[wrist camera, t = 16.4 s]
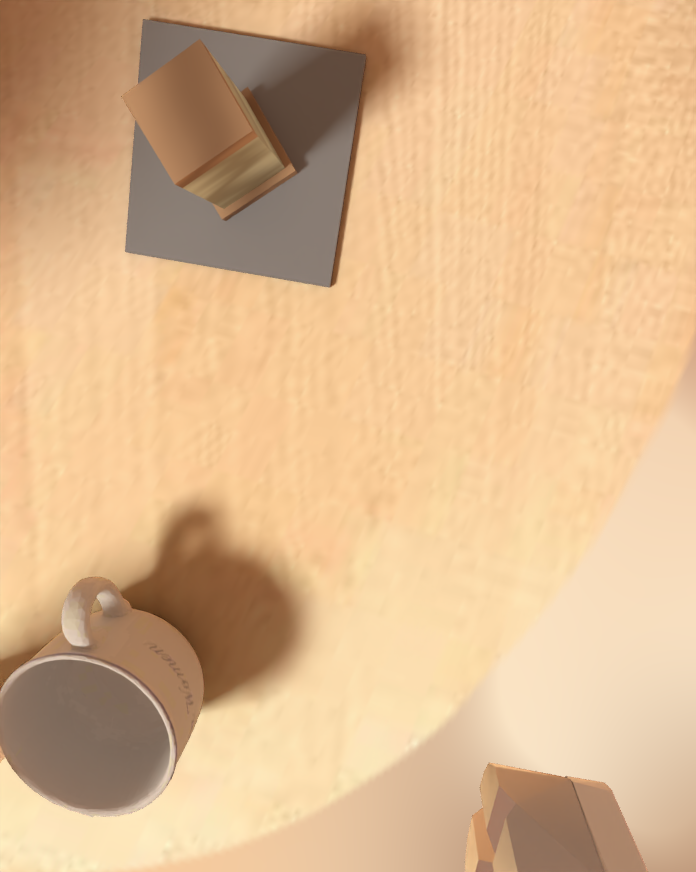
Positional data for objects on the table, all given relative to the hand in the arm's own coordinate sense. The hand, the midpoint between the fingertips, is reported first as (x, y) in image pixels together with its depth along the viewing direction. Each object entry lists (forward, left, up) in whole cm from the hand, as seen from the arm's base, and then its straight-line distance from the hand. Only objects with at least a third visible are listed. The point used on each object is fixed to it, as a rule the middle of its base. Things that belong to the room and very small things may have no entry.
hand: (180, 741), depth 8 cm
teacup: (-11, -19, -29) cm, 37 cm away
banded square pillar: (-8, +12, -29) cm, 32 cm away
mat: (-8, +12, -29) cm, 32 cm away
